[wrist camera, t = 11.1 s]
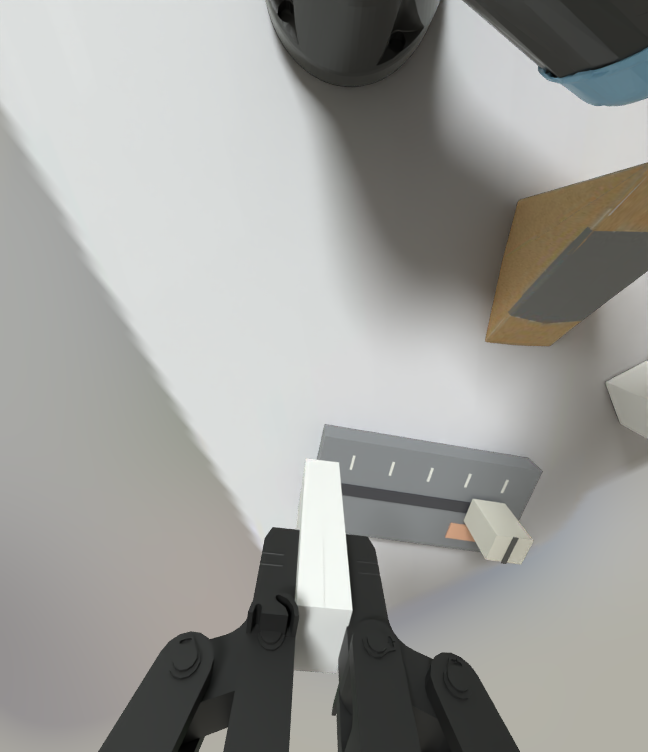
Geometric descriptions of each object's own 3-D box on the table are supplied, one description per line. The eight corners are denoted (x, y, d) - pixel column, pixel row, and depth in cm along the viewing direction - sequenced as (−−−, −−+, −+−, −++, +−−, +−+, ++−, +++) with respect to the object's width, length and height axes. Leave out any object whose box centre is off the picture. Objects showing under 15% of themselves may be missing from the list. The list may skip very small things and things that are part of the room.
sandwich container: (481, 343, 40) (573, 390, 26) (515, 199, 35) (653, 158, 20) (550, 347, 40) (679, 396, 26) (594, 206, 35) (783, 171, 21)
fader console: (324, 424, 42) (325, 436, 39) (528, 457, 45) (543, 472, 42) (305, 511, 47) (304, 529, 44) (491, 538, 50) (502, 556, 46)
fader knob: (473, 497, 43) (497, 535, 37) (505, 502, 43) (534, 540, 37) (463, 521, 44) (485, 561, 38) (494, 525, 44) (521, 565, 39)
